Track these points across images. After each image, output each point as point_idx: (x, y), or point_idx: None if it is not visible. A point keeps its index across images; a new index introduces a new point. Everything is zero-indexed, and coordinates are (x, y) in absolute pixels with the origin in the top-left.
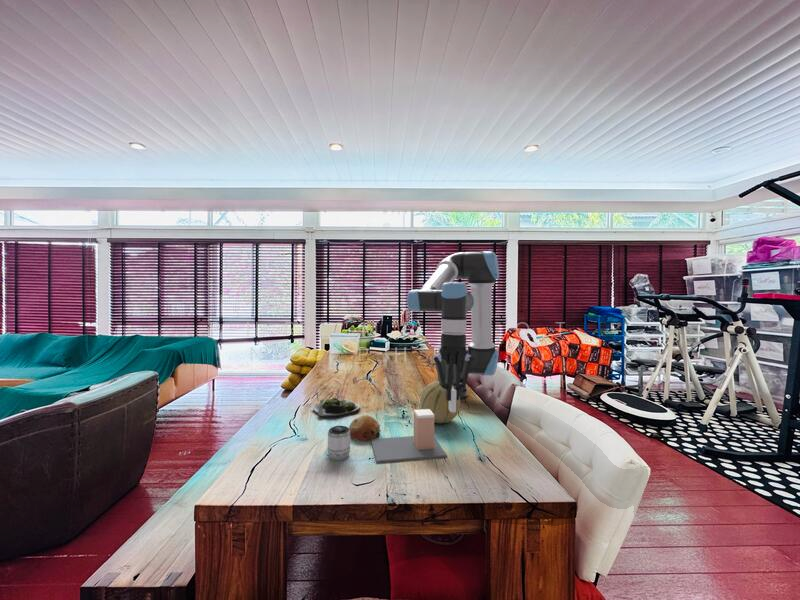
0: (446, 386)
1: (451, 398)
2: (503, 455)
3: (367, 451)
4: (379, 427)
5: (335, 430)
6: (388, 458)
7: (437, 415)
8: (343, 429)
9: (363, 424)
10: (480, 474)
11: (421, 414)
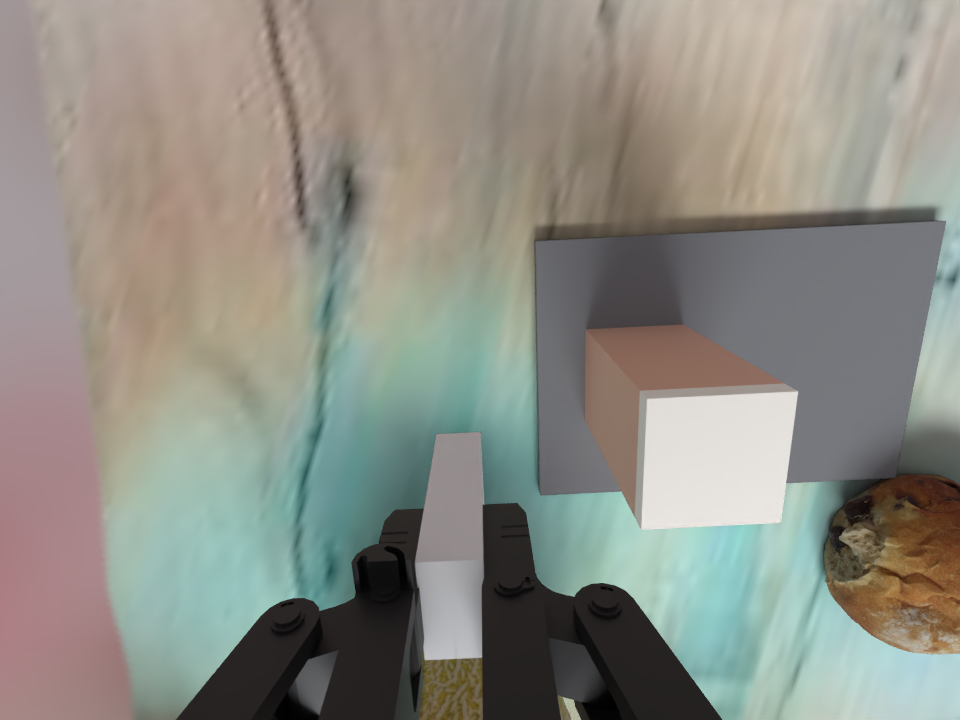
0: (557, 622)
1: (481, 505)
2: (199, 222)
3: (941, 356)
4: (839, 575)
5: None
6: (873, 239)
7: None
8: None
9: None
10: (404, 12)
11: (756, 415)
